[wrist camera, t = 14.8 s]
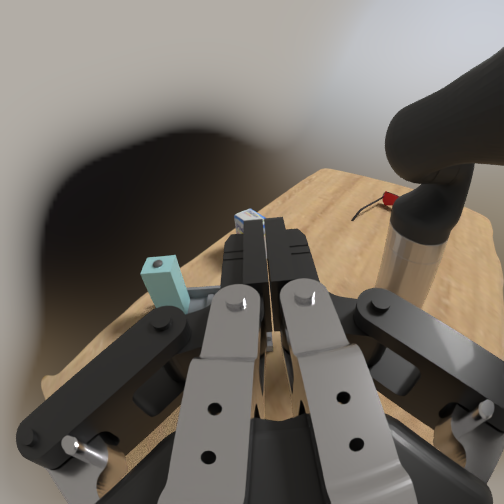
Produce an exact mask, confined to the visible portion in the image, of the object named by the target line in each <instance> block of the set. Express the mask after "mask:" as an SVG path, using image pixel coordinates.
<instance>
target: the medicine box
mask: <svg viewBox="0 0 504 504" xmlns="http://www.w3.org/2000/svg"><path fill="white" fill-rule="evenodd" d="M234 217H235V225H236V233H237V234H242V233H243V224H244V220H255V219H262V221H263V230H264V240H265V250H266V237H265V225H264V219H265V217H263V216H262V215H260V214H258V213H257V212H255V211H253V210H252V209H248V210H245V211H242V212H240V213H237V214H235V215H234ZM266 260H267V250H266Z"/></svg>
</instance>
